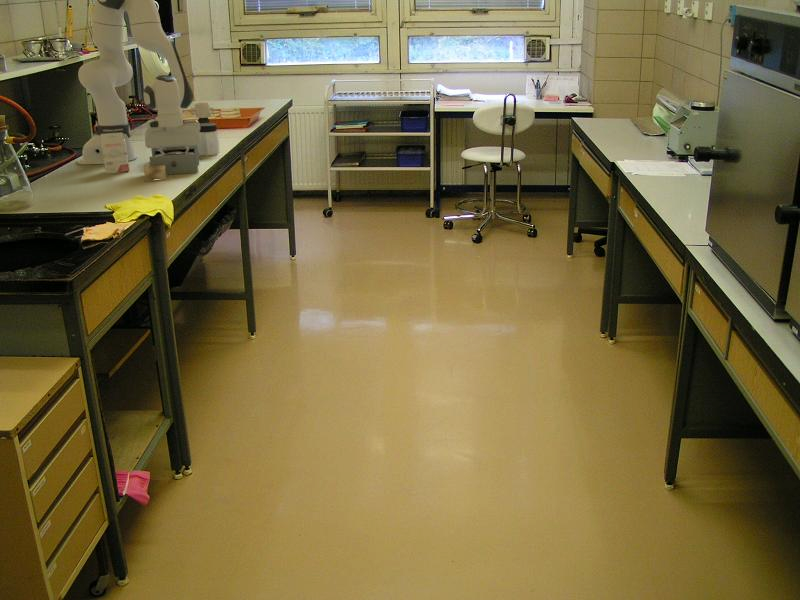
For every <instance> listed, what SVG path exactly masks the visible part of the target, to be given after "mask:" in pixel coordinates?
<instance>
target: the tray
mask: <svg viewBox="0 0 800 600" xmlns="http://www.w3.org/2000/svg"><path fill="white" fill-rule="evenodd" d="M149 162H150V163H149V164H150V165H149V166H158V165H165V167H166V175H174V174H187V173H188V174H189V173H191V174H192V173H199V165H197V155H196V154H194V152H187V154H185V155H169V156H163V155H162V154H156V156H153V157H152V156H149Z"/></svg>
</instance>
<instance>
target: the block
mask: <svg viewBox="0 0 800 600" xmlns="http://www.w3.org/2000/svg"><path fill="white" fill-rule="evenodd" d="M143 174H144V179H145V180H154V179H166V180H167V174H166V167H165V165H158V166H151V165H146V166H144V170H143ZM145 180H144V181H145Z"/></svg>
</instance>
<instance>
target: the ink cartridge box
mask: <svg viewBox="0 0 800 600" xmlns="http://www.w3.org/2000/svg"><path fill="white" fill-rule="evenodd" d="M100 136H101V146H102V152H103V159H104V164H103V165H104V170H105V173H106V174H114V173H113V172H119V173H124V172H123V171H129V172H130V165H129V161H128V157H127V150H126V144H125V139H124V137H123V133H122V132H121V133H107V134H101V135H100ZM109 136H116V138H108V137H109Z"/></svg>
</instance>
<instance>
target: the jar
mask: <svg viewBox="0 0 800 600" xmlns="http://www.w3.org/2000/svg"><path fill="white" fill-rule="evenodd" d="M200 127H201V129H200V131H199V133H200V137H201V143H200V144H199V145H198V148H199V156H203V155H204V156H205V157H210V155H211V156H217V154H218V155H219V154H220V152H221V151H220V143H219V142H220V141H219V130H218V124H217V123H215V122H210V123H202V124H200Z"/></svg>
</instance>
